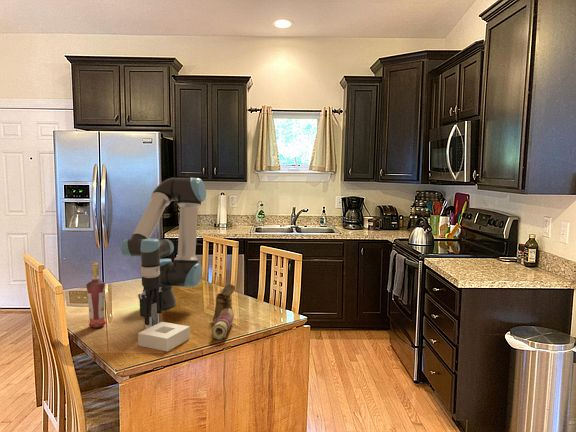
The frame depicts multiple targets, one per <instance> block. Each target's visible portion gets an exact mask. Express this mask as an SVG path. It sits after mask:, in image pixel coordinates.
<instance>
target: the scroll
mask: <svg viewBox="0 0 576 432" xmlns="http://www.w3.org/2000/svg"><path fill="white" fill-rule="evenodd" d="M234 317H235V313H234V311H233V309H232V310H231V309H229V308H228V309H227V308H226V309H224V310H222V311H221V313H220V316H219V317H217V319H215V320H214V319H213V326H212V328H211V335H212V336H213V338H214V339H216V340H223V338H226V337H227V333H228V332H229V331H230V328H231V325H232V324H233V322H234Z"/></svg>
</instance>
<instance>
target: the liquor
mask: <svg viewBox="0 0 576 432" xmlns="http://www.w3.org/2000/svg"><path fill="white" fill-rule="evenodd" d="M90 265H91V269H92V271H91V273H92V274H91V281H89V282H88V283H87V284H86V293H87V294H86V295H87V304H88V316H89V317H88V318H89V323H88V326H89V327H90V328H92V329H101V328H103V327H104V326H105V325H106V324H107V321H106V319H105V318H106V317H105V316H106V315H105V314H106V312H105V309H106V306H105V301H106V300H105V299H106V282H104V281H102V280H101V279H100V274H99V262H91V264H90Z"/></svg>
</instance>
